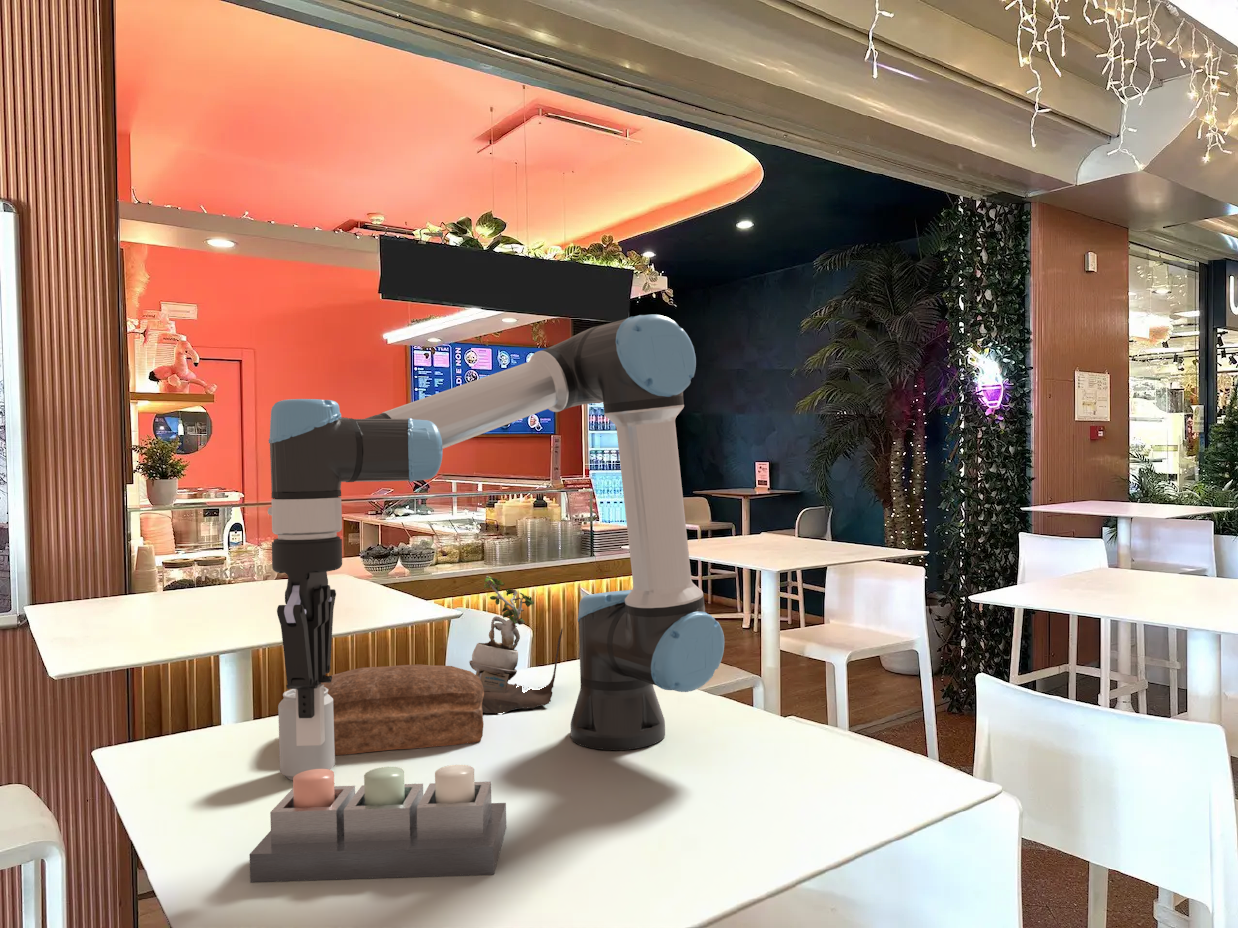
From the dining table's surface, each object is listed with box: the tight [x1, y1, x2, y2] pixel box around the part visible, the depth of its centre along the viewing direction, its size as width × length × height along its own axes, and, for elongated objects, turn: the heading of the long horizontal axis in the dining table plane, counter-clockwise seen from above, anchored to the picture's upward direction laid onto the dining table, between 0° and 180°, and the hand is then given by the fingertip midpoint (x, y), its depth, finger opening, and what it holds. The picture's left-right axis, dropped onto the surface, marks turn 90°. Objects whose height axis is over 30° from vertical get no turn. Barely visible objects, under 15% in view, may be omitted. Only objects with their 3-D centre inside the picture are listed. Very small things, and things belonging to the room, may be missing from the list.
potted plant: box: [468, 575, 563, 714], centre depth 165 cm, size 20×19×25 cm
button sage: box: [363, 766, 405, 806], centre depth 100 cm, size 4×4×4 cm
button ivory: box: [434, 764, 475, 804], centre depth 100 cm, size 4×4×4 cm
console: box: [248, 781, 507, 883], centre depth 100 cm, size 26×12×6 cm, turn 91°
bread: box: [321, 663, 484, 756], centre depth 143 cm, size 17×29×11 cm, turn 102°
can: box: [277, 687, 336, 781], centre depth 127 cm, size 8×8×12 cm
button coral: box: [292, 769, 335, 808], centre depth 100 cm, size 4×4×4 cm
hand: (310, 743), depth 100 cm, fingers closed
